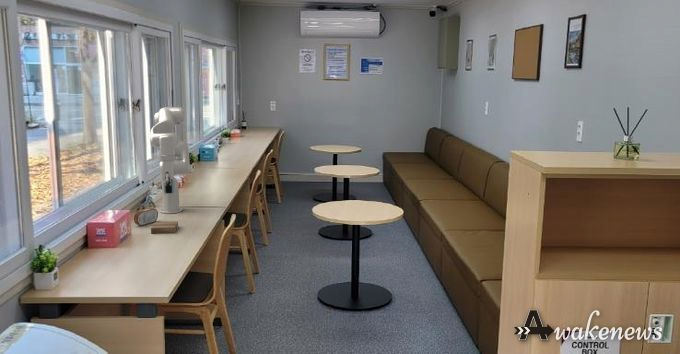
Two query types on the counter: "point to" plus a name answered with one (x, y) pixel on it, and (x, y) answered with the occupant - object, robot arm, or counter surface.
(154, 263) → the counter surface
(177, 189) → the robot arm
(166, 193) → the block
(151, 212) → the wooden speaker
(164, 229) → the base
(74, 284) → the counter surface
